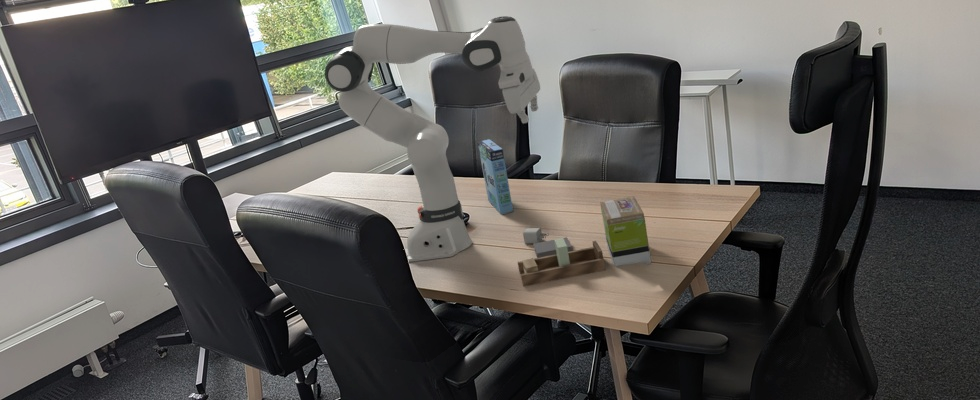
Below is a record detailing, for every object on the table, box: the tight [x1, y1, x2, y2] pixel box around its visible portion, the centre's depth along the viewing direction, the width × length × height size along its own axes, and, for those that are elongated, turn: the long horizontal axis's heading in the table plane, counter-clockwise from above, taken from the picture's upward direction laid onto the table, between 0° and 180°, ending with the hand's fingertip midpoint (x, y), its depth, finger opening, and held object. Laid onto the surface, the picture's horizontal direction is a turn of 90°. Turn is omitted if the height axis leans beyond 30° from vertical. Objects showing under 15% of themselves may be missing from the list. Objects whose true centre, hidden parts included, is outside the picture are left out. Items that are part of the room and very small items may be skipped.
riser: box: [533, 236, 573, 258], centre depth 214 cm, size 10×8×3 cm
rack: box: [517, 240, 606, 287], centre depth 200 cm, size 22×10×6 cm, turn 93°
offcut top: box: [521, 257, 538, 273], centre depth 199 cm, size 3×6×2 cm, turn 7°
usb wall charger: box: [522, 227, 549, 245], centre depth 227 cm, size 4×7×4 cm, turn 64°
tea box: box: [600, 195, 652, 267], centre depth 202 cm, size 15×10×15 cm, turn 178°
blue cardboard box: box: [477, 138, 514, 215], centre depth 265 cm, size 20×5×23 cm, turn 12°
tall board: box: [553, 237, 570, 267], centre depth 199 cm, size 2×7×8 cm, turn 3°
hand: (530, 116), depth 220 cm, fingers open, 8 cm apart
